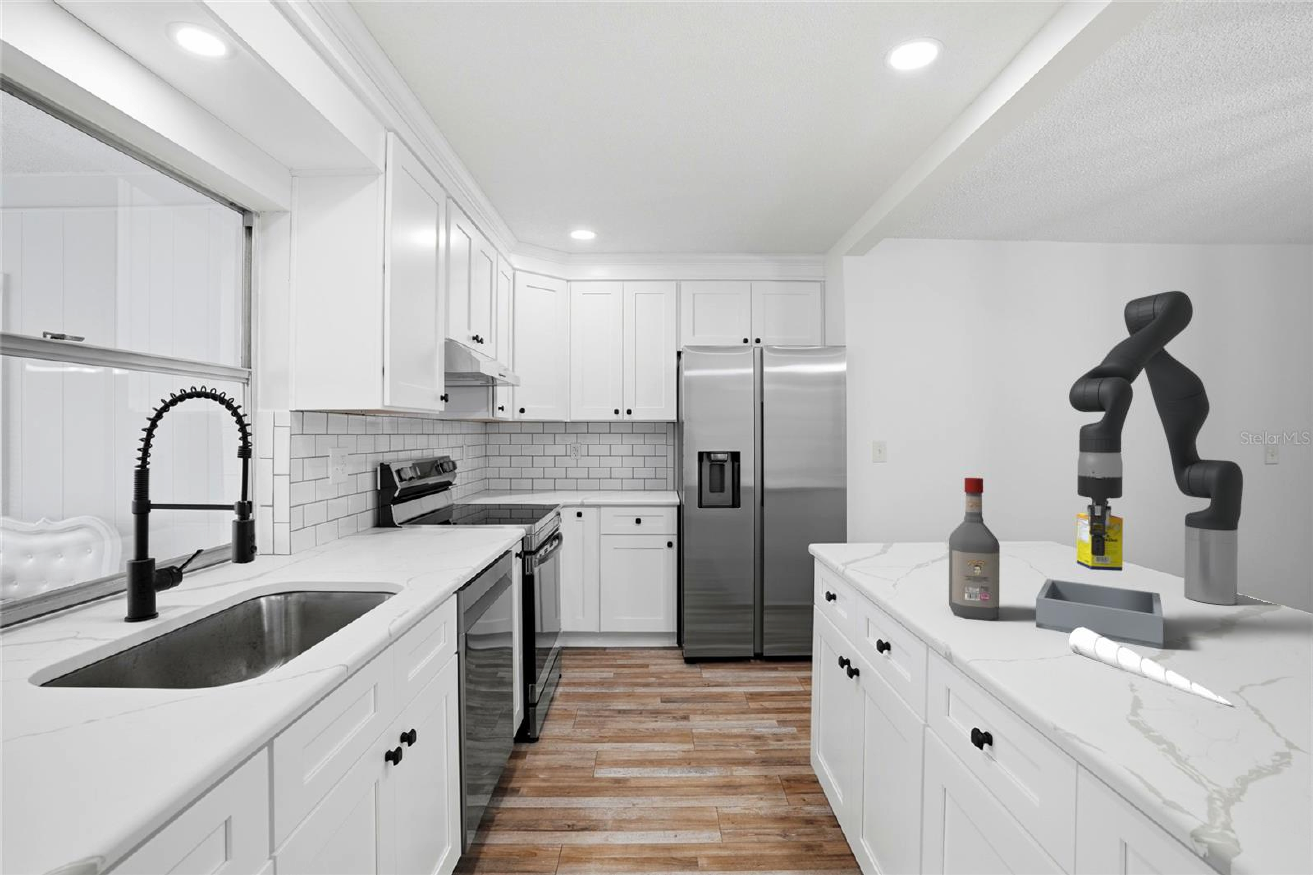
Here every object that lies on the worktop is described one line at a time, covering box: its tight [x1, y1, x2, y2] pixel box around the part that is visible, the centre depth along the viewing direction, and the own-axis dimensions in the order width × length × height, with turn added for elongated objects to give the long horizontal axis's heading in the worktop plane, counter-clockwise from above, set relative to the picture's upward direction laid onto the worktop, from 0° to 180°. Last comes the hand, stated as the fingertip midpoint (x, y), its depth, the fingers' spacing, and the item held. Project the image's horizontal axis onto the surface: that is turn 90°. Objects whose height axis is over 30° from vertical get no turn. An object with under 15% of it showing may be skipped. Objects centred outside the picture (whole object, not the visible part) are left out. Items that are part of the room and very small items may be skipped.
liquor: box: [948, 477, 1001, 621], centre depth 132 cm, size 9×9×30 cm
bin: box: [1035, 578, 1164, 650], centre depth 125 cm, size 20×20×6 cm
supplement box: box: [1076, 512, 1124, 572], centre depth 125 cm, size 6×6×11 cm
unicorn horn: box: [1068, 627, 1234, 707], centre depth 99 cm, size 5×24×5 cm, turn 14°
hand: (1098, 552), depth 125 cm, fingers closed on supplement box, 8 cm apart
